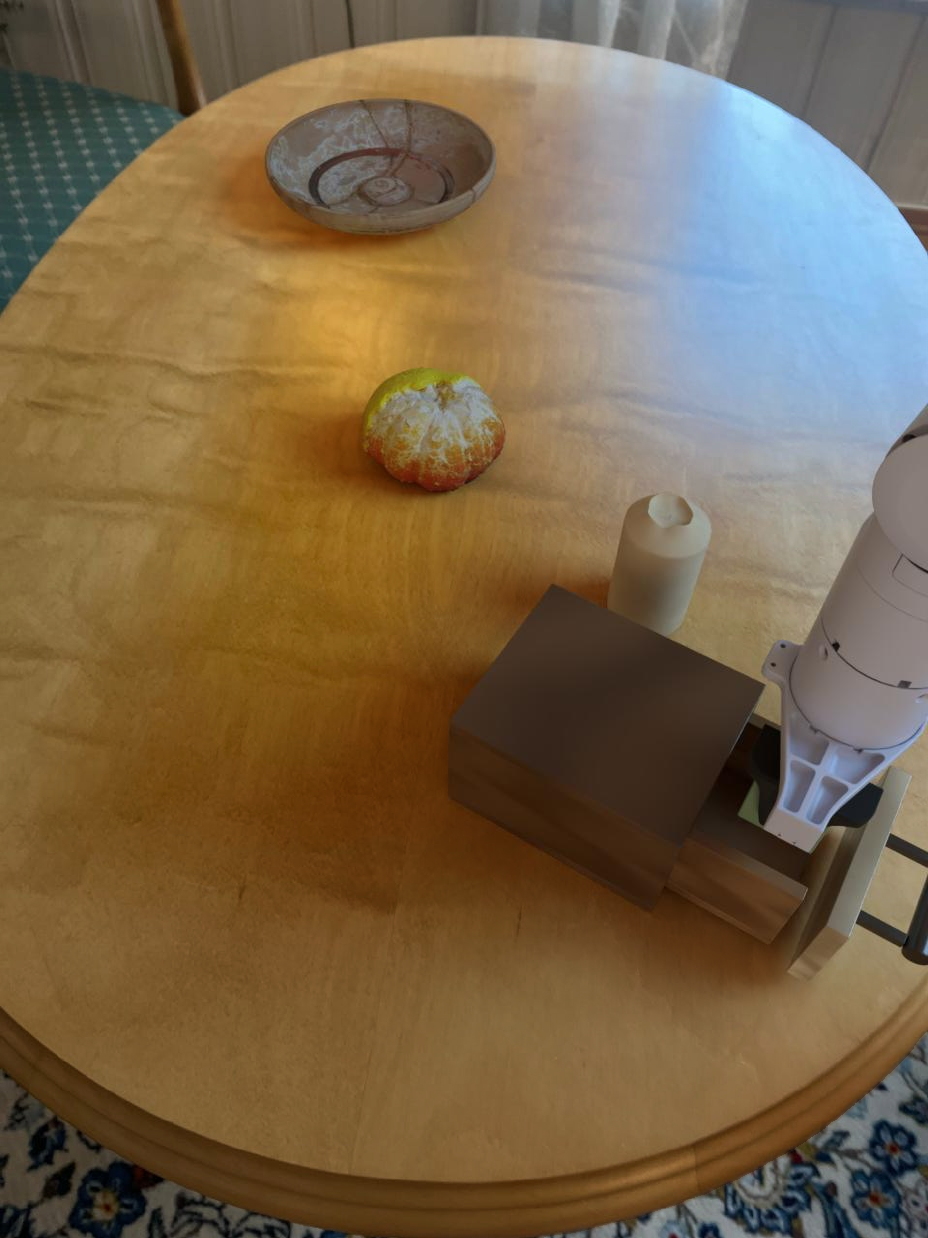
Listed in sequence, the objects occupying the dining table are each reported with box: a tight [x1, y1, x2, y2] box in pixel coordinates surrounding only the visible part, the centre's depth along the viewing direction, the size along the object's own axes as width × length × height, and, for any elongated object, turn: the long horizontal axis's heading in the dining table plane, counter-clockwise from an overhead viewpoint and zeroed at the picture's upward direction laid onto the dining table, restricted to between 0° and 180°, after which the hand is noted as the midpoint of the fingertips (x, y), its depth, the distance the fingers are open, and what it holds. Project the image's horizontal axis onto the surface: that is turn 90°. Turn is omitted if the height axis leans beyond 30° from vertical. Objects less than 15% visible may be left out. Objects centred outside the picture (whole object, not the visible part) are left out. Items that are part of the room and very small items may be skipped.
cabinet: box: [447, 583, 767, 914], centre depth 56 cm, size 14×12×9 cm
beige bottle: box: [606, 491, 713, 637], centre depth 64 cm, size 6×6×10 cm
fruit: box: [360, 366, 507, 494], centre depth 75 cm, size 11×10×8 cm
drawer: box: [665, 712, 928, 984], centre depth 53 cm, size 17×10×7 cm, turn 58°
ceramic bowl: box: [264, 97, 497, 236], centre depth 99 cm, size 23×24×5 cm
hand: (795, 792), depth 49 cm, fingers closed on block, 4 cm apart
